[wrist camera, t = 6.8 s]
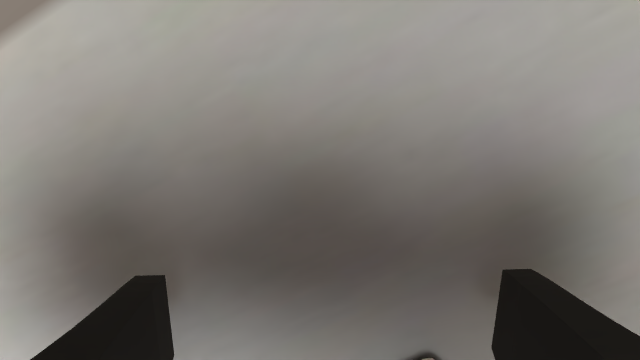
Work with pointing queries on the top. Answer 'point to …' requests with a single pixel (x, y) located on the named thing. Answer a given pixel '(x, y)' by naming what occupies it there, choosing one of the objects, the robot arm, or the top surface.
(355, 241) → the top surface
